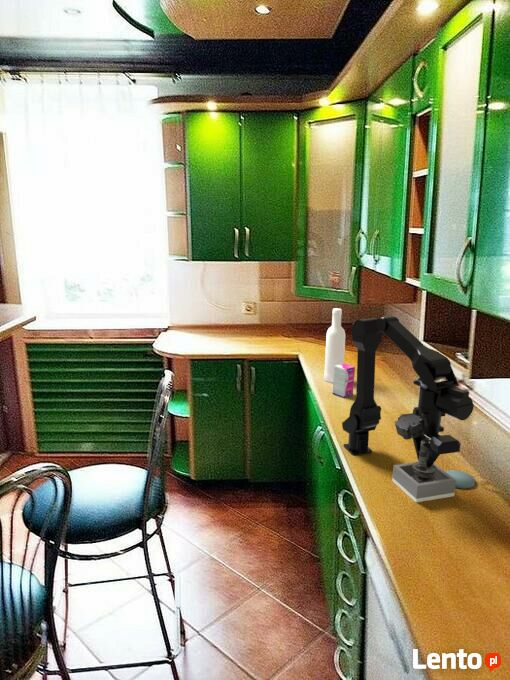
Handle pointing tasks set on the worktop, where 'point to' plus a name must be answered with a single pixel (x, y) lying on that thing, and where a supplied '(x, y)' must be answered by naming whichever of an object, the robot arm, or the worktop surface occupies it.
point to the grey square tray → (423, 491)
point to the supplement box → (343, 380)
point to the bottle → (334, 345)
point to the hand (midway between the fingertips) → (424, 463)
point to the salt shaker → (423, 466)
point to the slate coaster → (462, 479)
